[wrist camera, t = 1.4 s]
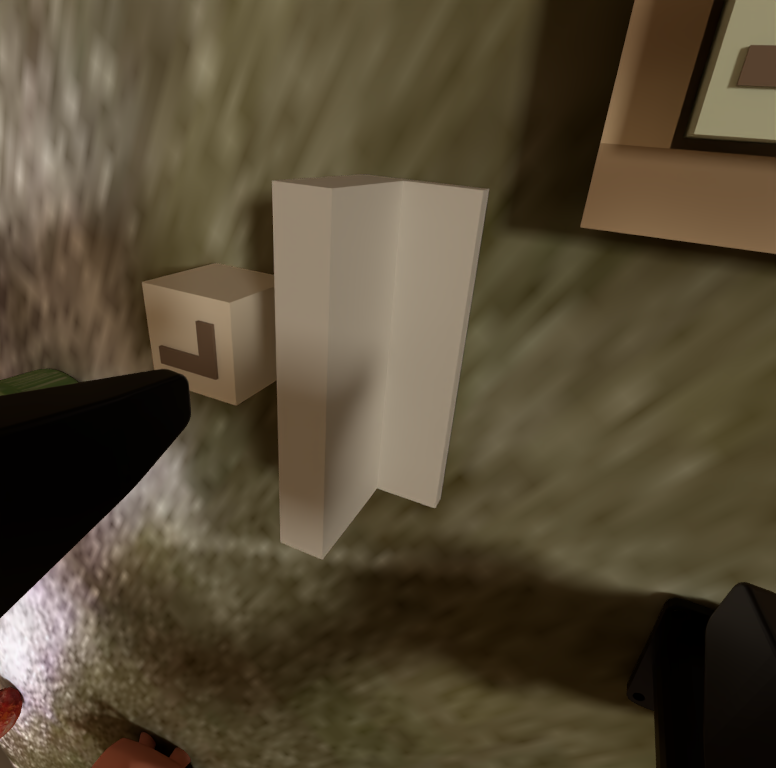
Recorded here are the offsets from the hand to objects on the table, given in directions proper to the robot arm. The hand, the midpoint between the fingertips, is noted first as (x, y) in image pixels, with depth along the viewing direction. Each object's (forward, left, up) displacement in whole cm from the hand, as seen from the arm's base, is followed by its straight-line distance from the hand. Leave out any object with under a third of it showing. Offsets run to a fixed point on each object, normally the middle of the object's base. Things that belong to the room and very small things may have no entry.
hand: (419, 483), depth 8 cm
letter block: (-4, +13, -13) cm, 19 cm away
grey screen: (-4, +5, -13) cm, 14 cm away
